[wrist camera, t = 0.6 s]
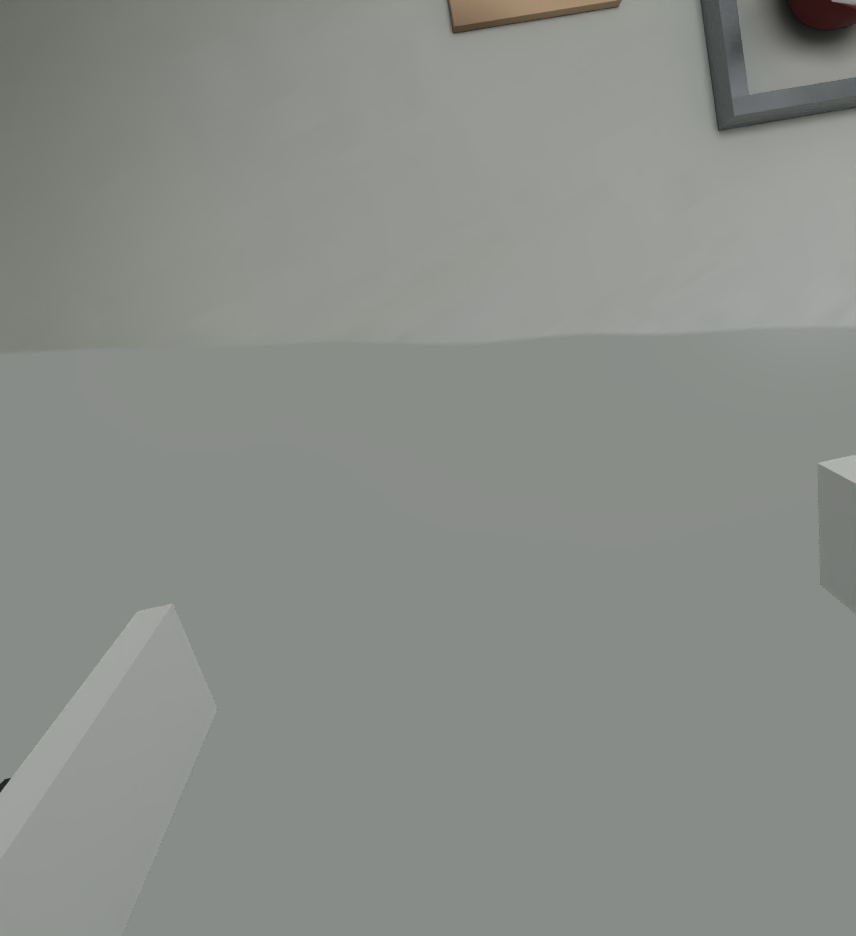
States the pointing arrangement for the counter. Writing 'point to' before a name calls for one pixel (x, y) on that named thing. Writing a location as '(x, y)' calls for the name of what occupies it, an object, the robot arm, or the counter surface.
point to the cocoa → (825, 13)
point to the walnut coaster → (515, 11)
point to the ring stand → (732, 82)
